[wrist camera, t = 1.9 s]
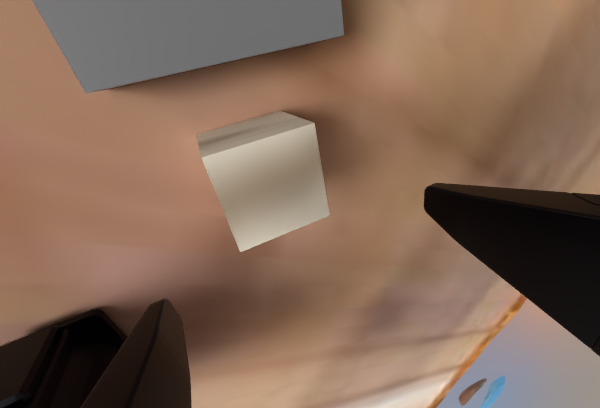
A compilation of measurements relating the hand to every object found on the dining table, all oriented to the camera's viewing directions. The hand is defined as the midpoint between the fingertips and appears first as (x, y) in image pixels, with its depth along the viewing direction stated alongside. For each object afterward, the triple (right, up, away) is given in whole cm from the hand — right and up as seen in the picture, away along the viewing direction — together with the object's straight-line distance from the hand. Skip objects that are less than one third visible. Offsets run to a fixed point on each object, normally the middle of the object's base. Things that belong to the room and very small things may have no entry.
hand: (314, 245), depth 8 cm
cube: (-4, +4, +8) cm, 10 cm away
